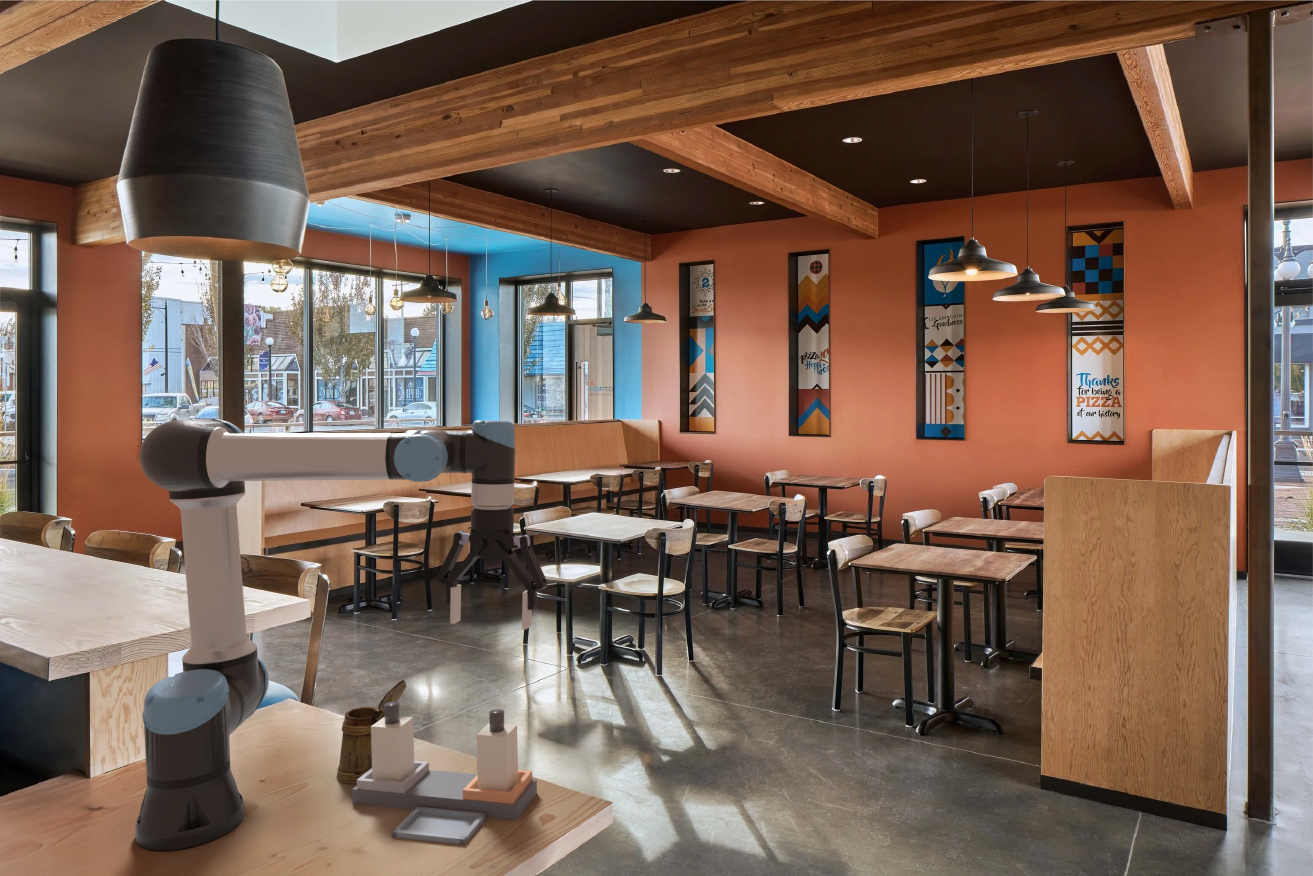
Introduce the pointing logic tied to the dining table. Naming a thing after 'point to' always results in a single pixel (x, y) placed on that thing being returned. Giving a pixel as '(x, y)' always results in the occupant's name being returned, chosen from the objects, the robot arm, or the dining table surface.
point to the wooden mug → (361, 737)
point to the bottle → (497, 754)
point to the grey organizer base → (446, 792)
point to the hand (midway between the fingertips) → (490, 625)
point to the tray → (439, 825)
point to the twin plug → (392, 745)
